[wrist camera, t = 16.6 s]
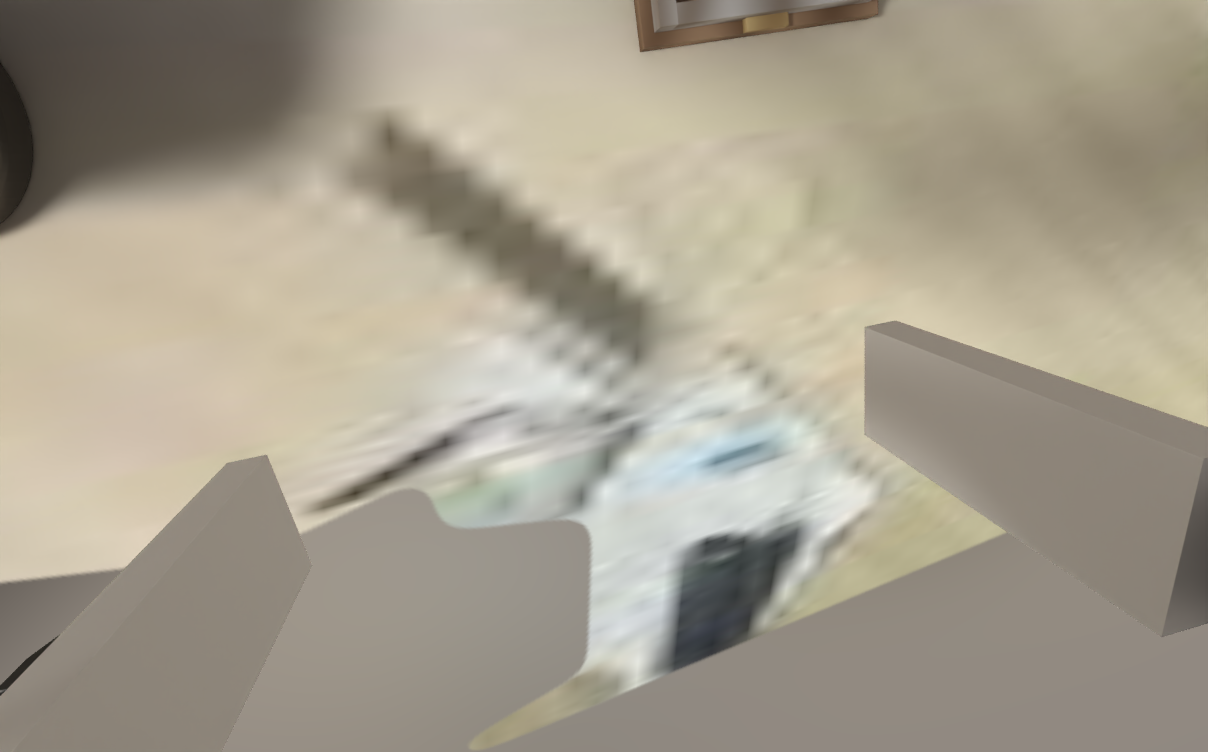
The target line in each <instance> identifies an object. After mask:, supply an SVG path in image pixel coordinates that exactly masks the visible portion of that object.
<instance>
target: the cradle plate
mask: <svg viewBox="0 0 1208 752" xmlns="http://www.w3.org/2000/svg"><path fill="white" fill-rule="evenodd" d="M634 5H635V13H636V22H637V30H638V38H639V47H640V52H643V51H650V50H657V49H664V48H671V47H678V46H684V45H691V44H698V43H705V42H712V41H718V40H725V39H732V38H739V37H746V36H752V35H759V34H766V33H773V32H780V31H787V30H793V29H800V28H807V27H814V26H821V25H827V24H834V23H841V22H848V21H855V20H862V19H868V18H870V17H872V16H874V15H877V14H878V0H634Z"/></svg>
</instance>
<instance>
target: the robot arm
mask: <svg viewBox="0 0 1208 752" xmlns="http://www.w3.org/2000/svg"><path fill="white" fill-rule="evenodd" d="M32 157H33V150H32V137H31V131H30V126H29V122H28V119H27V115H26V112H25V109H24V106H23V104H22V101H21V99H20V97H19V94H18V92H17V90H16V88H15V86H14V85H13V83H12V81H11V79H10V78H9V76H8V74H7V73H6V71H5V70H4V68H3V67H2V65H1V64H0V223H1V222H2V221H4V220H5V219H6V218H7V217H8V216H9V215H10V214H11V213H12V211H13V210H14V209H15V208H16V206H17V205H18V203H19V202H20V200H21V198H22V196H23V194H24V192H25V190H26V187H27V185H28V182H29V178H30V174H31V168H32ZM865 435H866V436H867V437H869V438H870V439H872V440H873V441H874V442H876V443H877V444H879V445H880V446H882V447H883V448H885V449H886V450H888V451H889V452H891V453H892V454H894V455H895V456H896V457H898V458H899V459H901V460H902V461H904V462H905V463H907V464H908V465H910V466H911V467H913V468H914V469H916V470H917V471H918V472H920V473H921V474H923V475H924V476H926V477H927V478H929V479H930V480H932V481H933V482H935V483H936V484H938V485H939V486H940V487H942V488H943V489H945V490H946V491H948V492H949V493H951V494H952V495H954V496H955V497H957V498H958V499H959V500H961V501H962V502H964V503H965V504H967V505H968V506H970V507H971V508H973V509H974V510H976V511H977V512H979V513H980V514H981V515H983V516H984V517H986V518H987V519H989V520H990V521H992V522H993V523H995V524H996V525H998V526H999V527H1001V528H1002V529H1003V530H1005V531H1006V532H1008V533H1009V534H1011V535H1012V536H1014V537H1015V538H1017V539H1018V540H1020V541H1021V542H1023V543H1024V544H1025V545H1027V546H1028V547H1030V548H1031V549H1033V550H1034V551H1036V552H1037V553H1039V554H1040V555H1042V556H1043V557H1045V558H1046V559H1048V560H1049V561H1051V562H1052V563H1053V564H1055V565H1056V566H1058V567H1059V568H1061V569H1062V570H1064V571H1065V572H1066V573H1068V574H1069V575H1071V576H1073V577H1074V578H1075V579H1077V580H1078V581H1080V582H1081V583H1083V584H1084V585H1086V586H1087V587H1088V588H1090V589H1091V590H1093V591H1094V592H1096V593H1097V594H1099V595H1100V596H1102V597H1103V598H1105V599H1106V600H1108V601H1109V602H1110V603H1112V604H1113V605H1115V606H1116V607H1118V608H1119V609H1121V610H1122V611H1124V612H1125V613H1127V614H1128V615H1130V616H1131V617H1133V618H1134V619H1135V620H1137V621H1138V622H1140V623H1141V624H1143V625H1144V626H1146V627H1147V628H1149V629H1150V630H1151V631H1153V632H1154V633H1156V634H1157V635H1159V636H1160V637H1164V636H1167V635H1171V634H1174V633H1177V632H1181V631H1184V630H1187V629H1190V628H1194V627H1197V626H1201V625H1204V624H1207V623H1208V427H1205V426H1202V425H1199V424H1197V423H1194V422H1191V421H1188V420H1185V419H1182V418H1179V417H1176V416H1173V415H1170V414H1167V413H1164V412H1161V411H1159V410H1156V409H1153V408H1150V407H1147V406H1144V405H1141V404H1138V403H1135V402H1132V401H1129V400H1126V399H1123V398H1120V397H1118V396H1115V395H1112V394H1109V393H1106V392H1103V391H1100V390H1097V389H1094V388H1091V387H1088V386H1085V385H1082V384H1080V383H1077V382H1074V381H1071V380H1068V379H1065V378H1062V377H1059V376H1056V375H1053V374H1050V373H1047V372H1044V371H1042V370H1039V369H1036V368H1033V367H1030V366H1027V365H1024V364H1021V363H1018V362H1015V361H1012V360H1009V359H1006V358H1004V357H1001V356H998V355H995V354H992V353H989V352H986V351H983V350H980V349H977V348H974V347H971V346H968V345H965V344H963V343H960V342H957V341H954V340H951V339H948V338H945V337H942V336H939V335H936V334H933V333H930V332H927V331H925V330H922V329H919V328H916V327H913V326H910V325H907V324H904V323H901V322H898V321H891V322H886V323H882V324H877V325H872V326H868V327H865ZM311 567H312V563H311V561H310V559H309V556H308V554H307V551H306V549H305V547H304V544H303V542H302V539H301V537H300V534H299V532H298V529H297V527H296V524H295V522H294V520H293V517H292V515H291V512H290V510H289V507H288V505H287V503H286V500H285V498H284V495H283V493H282V490H281V488H280V486H279V483H278V481H277V478H276V476H275V473H274V471H273V469H272V466H271V464H270V461H269V459H268V456H267V455H263V456H258V457H254V458H249V459H244V460H240V461H235V462H230V463H227V464H226V465H225V466H224V467H223V468H222V469H221V470H220V471H219V472H218V473H217V474H216V475H215V476H214V477H213V478H212V479H211V480H210V481H209V482H208V483H207V484H206V485H205V486H204V487H203V488H202V489H201V490H200V492H199V493H198V494H197V495H196V496H195V497H194V498H193V499H192V500H191V501H190V502H189V503H188V504H187V505H186V506H185V507H184V508H183V509H182V510H181V511H180V512H179V513H178V514H177V515H176V516H175V517H174V518H173V519H172V520H171V521H170V522H169V523H168V524H167V525H166V526H165V527H164V529H163V530H162V531H161V532H160V533H159V534H158V535H157V536H156V537H155V538H154V539H153V540H152V541H151V542H150V543H149V544H148V545H147V546H146V547H145V548H144V549H143V550H142V551H141V552H140V553H139V554H138V555H137V556H136V557H135V558H134V559H133V560H132V561H131V562H130V563H129V564H128V566H127V567H126V568H125V569H124V570H123V571H122V572H121V573H120V574H119V575H118V576H117V577H116V578H115V579H114V580H113V581H112V582H111V583H110V584H109V585H108V586H107V587H106V588H105V589H104V590H103V591H102V592H101V593H100V594H99V595H98V596H97V597H96V598H95V599H94V600H93V601H92V603H91V604H90V605H89V606H88V607H87V608H86V609H85V610H84V611H83V612H82V613H81V614H80V615H79V616H78V617H77V618H76V619H75V620H74V621H73V622H72V623H71V624H70V625H69V626H68V627H67V628H66V629H65V630H64V631H63V632H62V633H61V634H60V635H59V636H57V637H56V638H55V639H53V640H52V641H51V642H49V643H48V644H46V645H45V646H44V647H42V648H41V649H40V650H38V651H37V652H35V653H34V654H33V655H31V656H30V657H29V658H28V659H26V660H25V661H24V662H23V663H22V664H21V665H20V666H19V667H18V668H17V669H16V670H15V671H14V672H13V673H12V674H11V675H10V676H9V677H8V678H7V679H6V680H5V681H4V682H3V683H2V684H1V685H0V752H222V750H223V748H224V745H225V743H226V741H227V739H228V737H229V735H230V733H231V731H232V729H233V727H234V725H235V723H236V721H237V719H238V717H239V715H240V713H241V711H242V709H243V707H244V705H245V702H246V700H247V698H248V696H249V694H250V692H251V690H252V688H253V686H254V684H255V682H256V680H257V678H258V676H259V674H260V672H261V670H262V668H263V665H264V664H265V661H266V659H267V657H268V655H269V653H270V651H271V649H272V647H273V645H274V643H275V641H276V639H277V637H278V635H279V633H280V631H281V629H282V626H283V624H284V622H285V620H286V618H287V616H288V614H289V612H290V610H291V608H292V606H293V604H294V602H295V600H296V598H297V596H298V594H299V592H300V590H301V588H302V585H303V584H304V581H305V579H306V577H307V575H308V573H309V571H310V569H311Z"/></svg>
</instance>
